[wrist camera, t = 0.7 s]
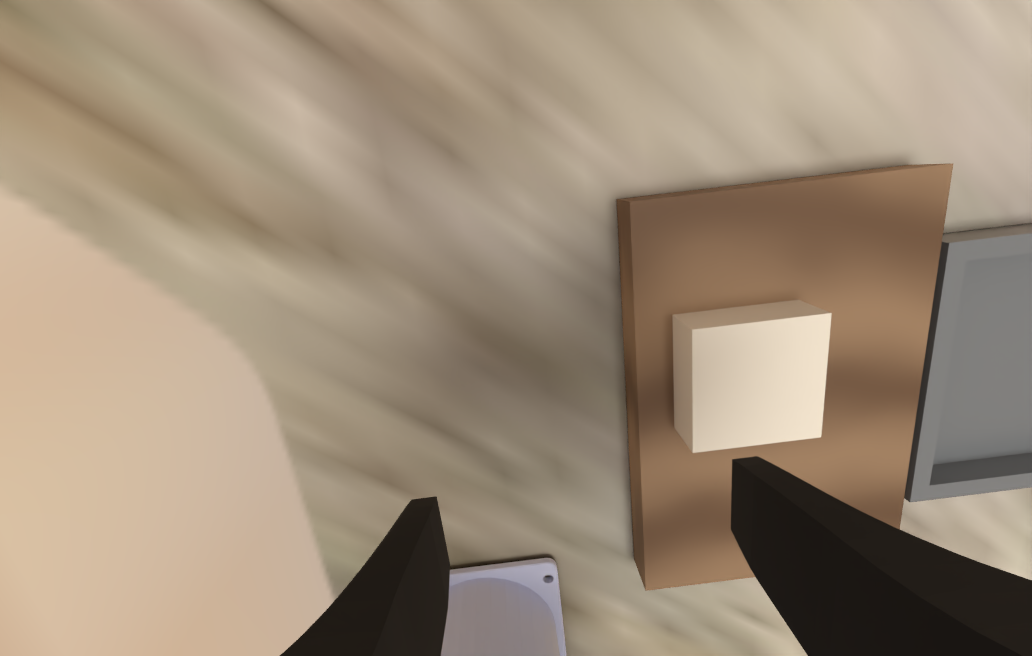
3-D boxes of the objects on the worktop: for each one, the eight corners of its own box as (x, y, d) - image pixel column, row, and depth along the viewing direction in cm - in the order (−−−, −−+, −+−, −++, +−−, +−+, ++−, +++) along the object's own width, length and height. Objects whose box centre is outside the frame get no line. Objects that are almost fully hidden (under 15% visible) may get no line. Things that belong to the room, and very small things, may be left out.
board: (864, 530, 25) (894, 559, 23) (633, 559, 25) (645, 590, 23) (909, 164, 20) (953, 163, 18) (616, 199, 20) (629, 201, 18)
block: (790, 413, 21) (821, 437, 19) (674, 427, 21) (692, 452, 19) (798, 299, 19) (831, 312, 17) (672, 314, 19) (692, 329, 17)
